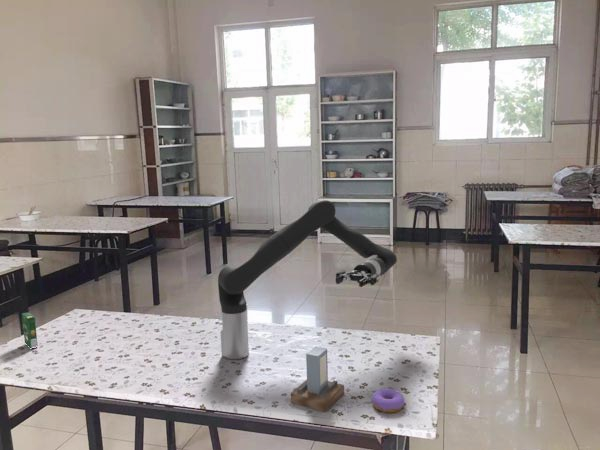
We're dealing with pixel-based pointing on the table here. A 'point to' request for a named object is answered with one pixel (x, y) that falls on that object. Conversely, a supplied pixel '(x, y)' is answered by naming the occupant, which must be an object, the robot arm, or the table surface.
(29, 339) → the coffee box
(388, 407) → the donut
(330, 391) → the display stand
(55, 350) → the table surface
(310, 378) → the light blue rectangular block
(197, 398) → the table surface
